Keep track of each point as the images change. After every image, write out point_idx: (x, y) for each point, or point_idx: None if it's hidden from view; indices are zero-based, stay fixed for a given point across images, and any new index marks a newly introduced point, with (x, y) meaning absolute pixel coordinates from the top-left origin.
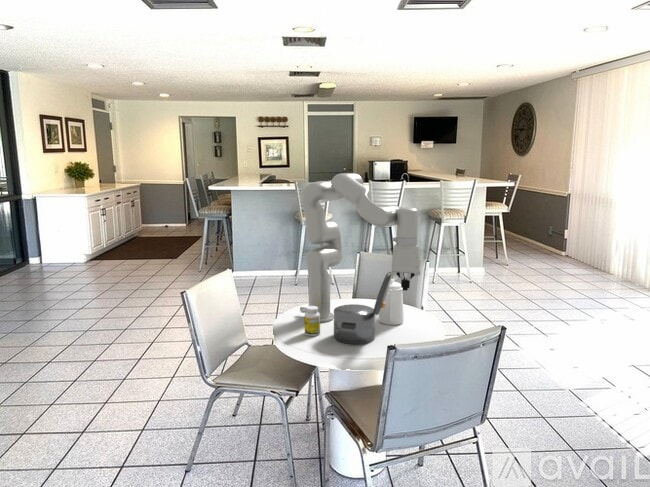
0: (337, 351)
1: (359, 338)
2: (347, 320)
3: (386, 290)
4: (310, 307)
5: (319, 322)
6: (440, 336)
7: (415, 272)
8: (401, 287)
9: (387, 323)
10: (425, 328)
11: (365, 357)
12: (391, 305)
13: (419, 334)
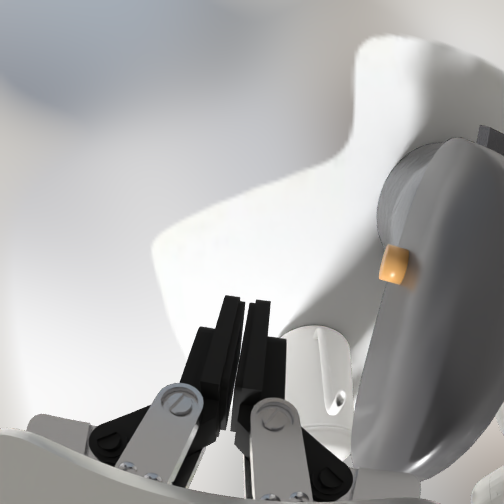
0: (481, 93)
1: (438, 148)
2: None
3: (396, 347)
4: None
5: None
6: (153, 258)
7: (15, 434)
8: (282, 338)
9: (324, 327)
10: (203, 313)
11: (400, 41)
12: (316, 377)
13: (218, 266)
